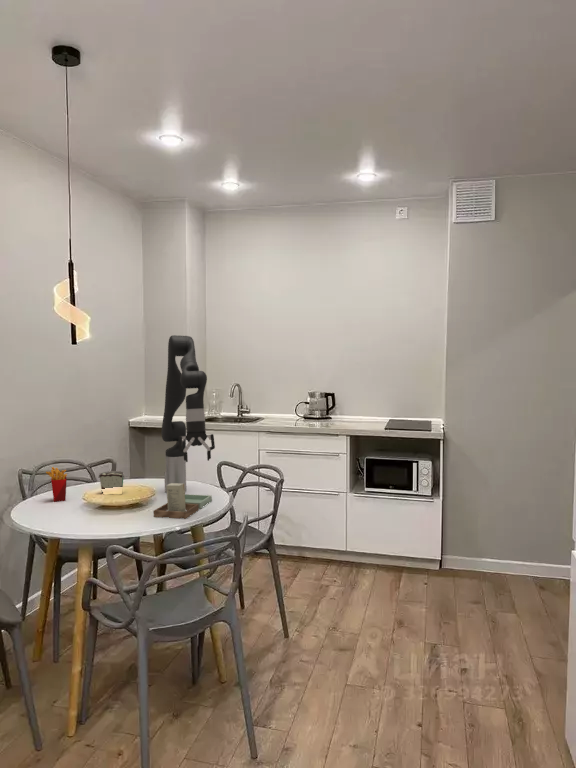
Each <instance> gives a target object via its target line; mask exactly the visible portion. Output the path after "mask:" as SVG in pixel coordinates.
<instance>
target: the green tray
mask: <svg viewBox="0 0 576 768" xmlns="http://www.w3.org/2000/svg"><path fill="white" fill-rule="evenodd" d="M212 501H213V496H212V495H209V494H207V495H206V494H186V493H185V504H199V510H201V509H203V508H204V507H206V506H207V505H208V504H210V503H212ZM209 502H210V503H209ZM207 503H208V504H207ZM206 504H207V505H206ZM205 505H206V506H205ZM203 506H204V507H203ZM202 507H203V508H202Z"/></svg>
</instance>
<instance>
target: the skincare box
mask: <svg viewBox="0 0 576 768" xmlns="http://www.w3.org/2000/svg"><path fill="white" fill-rule="evenodd" d="M185 494H186V492H185V487H184V483H171V484H168V485H167V493H166V500H167V502H166V503H167V504H168V510H167V511H176V512H186V511H187V510H186V507H185Z"/></svg>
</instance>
